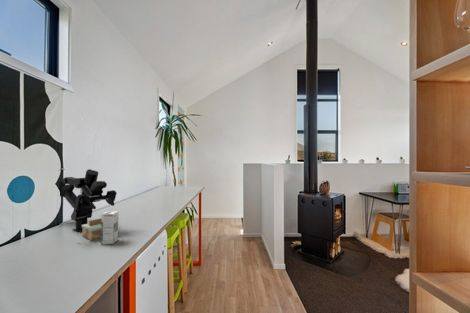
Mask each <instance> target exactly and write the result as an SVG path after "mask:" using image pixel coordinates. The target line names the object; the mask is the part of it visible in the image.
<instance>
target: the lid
mask: <svg viewBox="0 0 470 313" xmlns="http://www.w3.org/2000/svg"><path fill="white" fill-rule="evenodd" d="M82 227H83V228H85V229H88V230H90V231H96V230H100V229H101V218H97V219H91V220H88V224H84V225H82Z"/></svg>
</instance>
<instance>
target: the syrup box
mask: <svg viewBox="0 0 470 313" xmlns="http://www.w3.org/2000/svg"><path fill="white" fill-rule="evenodd" d="M100 216H101V218H100V219H101V239H100V245H103V246H104V245H114V244H115V243H117V241H119V210H118V211H116V210H109V211H105V212H103V213H101V215H100Z"/></svg>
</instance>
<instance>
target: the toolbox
mask: <svg viewBox="0 0 470 313" xmlns="http://www.w3.org/2000/svg"><path fill="white" fill-rule="evenodd" d="M81 237H82V238H84V239H86V240H89V241H90V242H96V241H101V229H100V230H96V231H90V230H88V229H85V228H83V227H82V231H81Z"/></svg>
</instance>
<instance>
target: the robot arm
mask: <svg viewBox="0 0 470 313" xmlns="http://www.w3.org/2000/svg"><path fill="white" fill-rule="evenodd" d="M98 176H99V171H98V170H94V169H93V170H92V168H91V169H90V168H89V169H87V170H86V171H85V176H84V177H74V176H68V177H67V176H66V177H63V178H62V180H61V181H59V182H58V183H59V188H58V189H59V190H60V196H59V197H62V198H65V200H66V201H67V202H68V203H69V205H70V206H71V207H72V208H73V211H72V213H71V215H70V219H71V221H74V222H75V228H73V229H72V231H74V232H78V233H79V232H82V225H84V224H88V223H89V221H88V219H90V218H92V216H93V210H96V208H97V207H96V205H95V204H94V203H96V202H97V203H98V202H100V201H105V202H106V203H107V204H108V205H110V206H112V207H114V206H115V202H114V201H116V198H117V192H116V190H107V191H106V194H103V193H104V190H103V189H106V187H107V185H108V184H107V182H106V181H105V180H98ZM75 188H76V189H79V190H80V189H81V194H78V195H76V194H75V192H74V189H75Z"/></svg>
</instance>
